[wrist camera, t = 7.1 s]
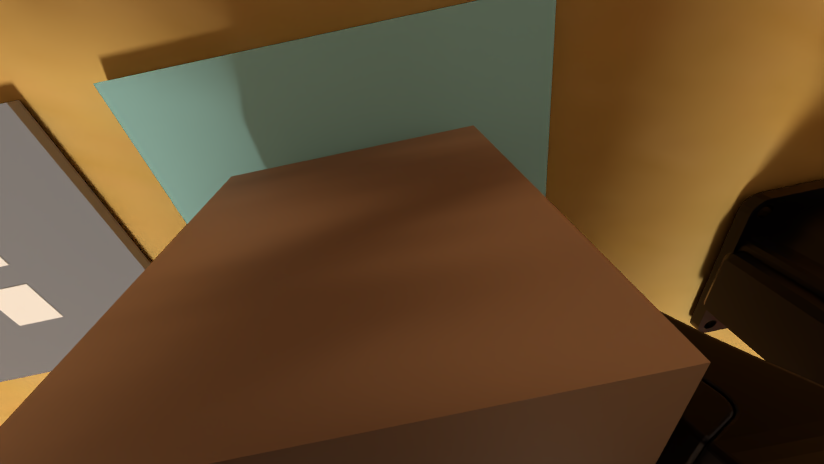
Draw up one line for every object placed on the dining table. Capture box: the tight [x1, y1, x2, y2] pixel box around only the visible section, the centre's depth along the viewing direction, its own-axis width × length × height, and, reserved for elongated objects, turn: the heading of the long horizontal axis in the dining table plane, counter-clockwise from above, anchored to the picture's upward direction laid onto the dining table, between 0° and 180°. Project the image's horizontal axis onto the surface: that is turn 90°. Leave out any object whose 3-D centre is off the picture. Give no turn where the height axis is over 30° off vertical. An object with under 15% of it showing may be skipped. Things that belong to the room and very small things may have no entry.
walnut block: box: [0, 125, 711, 464], centre depth 6 cm, size 6×6×6 cm
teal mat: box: [94, 0, 556, 224], centre depth 10 cm, size 10×10×1 cm
